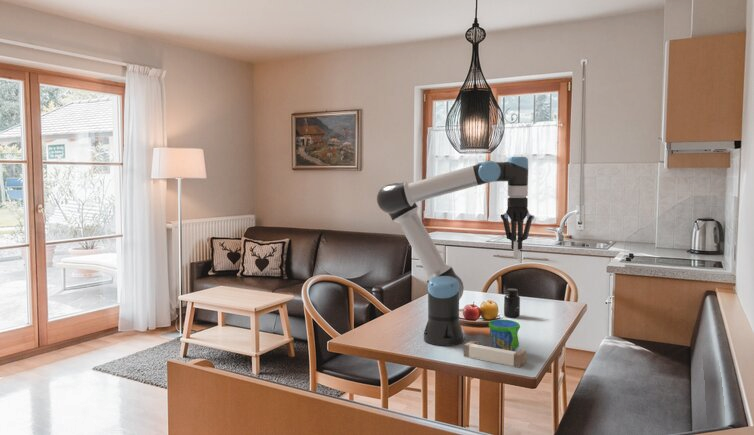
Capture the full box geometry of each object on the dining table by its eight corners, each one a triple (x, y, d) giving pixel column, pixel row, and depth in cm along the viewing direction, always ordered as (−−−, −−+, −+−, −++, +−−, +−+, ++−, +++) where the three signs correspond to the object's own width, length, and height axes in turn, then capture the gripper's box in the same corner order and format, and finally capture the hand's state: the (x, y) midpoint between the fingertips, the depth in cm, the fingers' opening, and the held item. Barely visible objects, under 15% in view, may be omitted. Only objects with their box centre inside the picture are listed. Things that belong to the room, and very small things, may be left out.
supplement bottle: (520, 318, 239) (520, 291, 238) (504, 317, 241) (504, 290, 240) (519, 314, 246) (519, 288, 245) (503, 313, 247) (503, 287, 246)
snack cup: (527, 357, 188) (528, 328, 188) (499, 359, 186) (499, 330, 185) (508, 343, 204) (508, 316, 203) (481, 345, 201) (481, 318, 201)
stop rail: (463, 356, 190) (463, 344, 189) (471, 351, 195) (471, 340, 194) (519, 367, 178) (519, 355, 178) (526, 362, 183) (526, 350, 183)
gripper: (537, 196, 211) (536, 258, 212) (505, 196, 218) (504, 255, 220) (530, 197, 205) (529, 260, 206) (497, 196, 212) (496, 257, 214)
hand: (516, 257), depth 213 cm, fingers closed
